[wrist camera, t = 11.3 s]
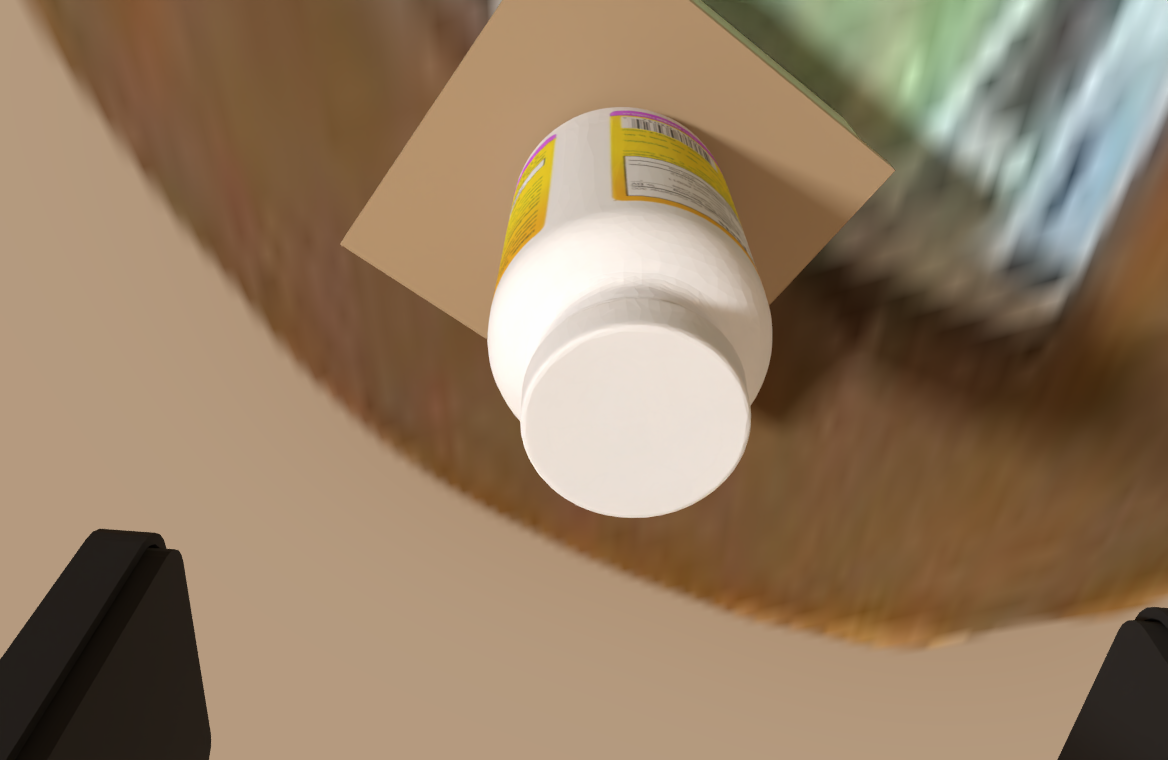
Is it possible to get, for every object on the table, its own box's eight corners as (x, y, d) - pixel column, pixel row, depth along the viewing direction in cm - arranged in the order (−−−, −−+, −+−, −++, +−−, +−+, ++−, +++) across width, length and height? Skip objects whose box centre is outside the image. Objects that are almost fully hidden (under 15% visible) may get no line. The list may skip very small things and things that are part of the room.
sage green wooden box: (851, 116, 36) (895, 170, 30) (637, 358, 41) (643, 439, 35) (573, -114, 32) (568, -99, 27) (377, 182, 37) (339, 244, 32)
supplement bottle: (552, 325, 33) (528, 586, 22) (484, 138, 30) (415, 331, 19) (749, 271, 32) (828, 517, 21) (699, 71, 29) (761, 235, 18)
